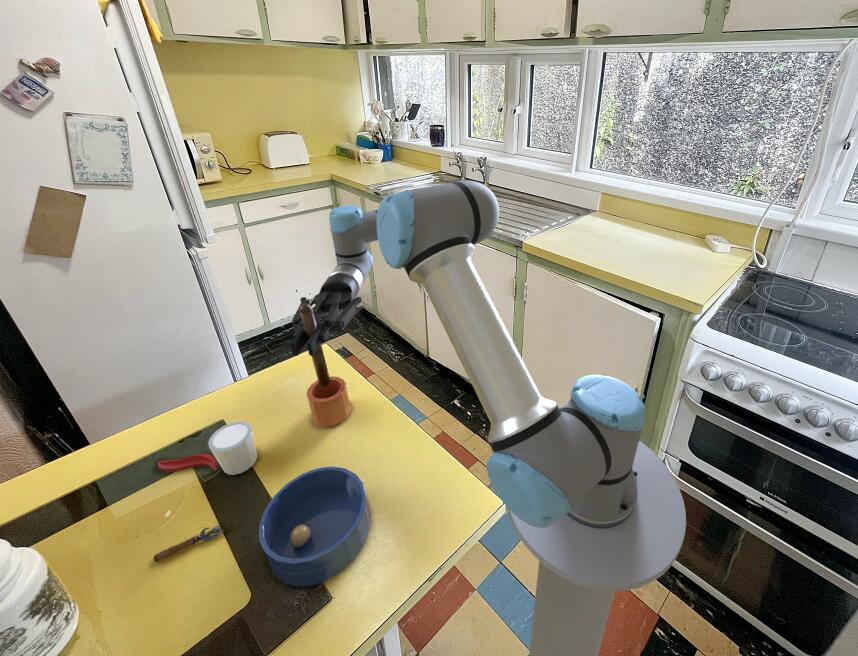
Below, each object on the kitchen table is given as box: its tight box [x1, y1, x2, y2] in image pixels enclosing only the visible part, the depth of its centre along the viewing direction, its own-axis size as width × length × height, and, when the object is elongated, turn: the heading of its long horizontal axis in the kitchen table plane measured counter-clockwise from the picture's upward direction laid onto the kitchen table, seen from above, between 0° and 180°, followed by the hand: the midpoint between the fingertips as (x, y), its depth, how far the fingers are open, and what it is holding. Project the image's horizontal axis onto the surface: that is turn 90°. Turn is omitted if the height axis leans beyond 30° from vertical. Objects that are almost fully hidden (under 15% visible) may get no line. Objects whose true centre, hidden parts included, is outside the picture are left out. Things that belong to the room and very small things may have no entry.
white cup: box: [207, 421, 258, 476], centre depth 76 cm, size 7×7×7 cm
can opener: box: [153, 525, 225, 563], centre depth 64 cm, size 9×2×1 cm, turn 119°
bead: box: [290, 525, 311, 548], centre depth 64 cm, size 3×3×3 cm
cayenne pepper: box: [157, 453, 219, 473], centre depth 77 cm, size 12×5×2 cm, turn 77°
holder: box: [306, 375, 351, 428], centre depth 87 cm, size 8×8×7 cm
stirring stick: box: [298, 304, 331, 387], centre depth 80 cm, size 2×2×20 cm
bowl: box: [258, 466, 371, 587], centre depth 65 cm, size 15×15×6 cm
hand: (302, 349), depth 74 cm, fingers closed on stirring stick, 2 cm apart
